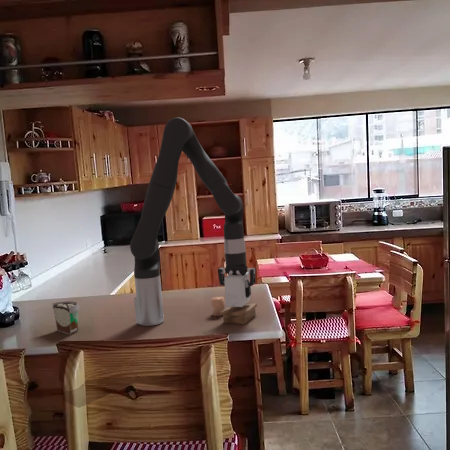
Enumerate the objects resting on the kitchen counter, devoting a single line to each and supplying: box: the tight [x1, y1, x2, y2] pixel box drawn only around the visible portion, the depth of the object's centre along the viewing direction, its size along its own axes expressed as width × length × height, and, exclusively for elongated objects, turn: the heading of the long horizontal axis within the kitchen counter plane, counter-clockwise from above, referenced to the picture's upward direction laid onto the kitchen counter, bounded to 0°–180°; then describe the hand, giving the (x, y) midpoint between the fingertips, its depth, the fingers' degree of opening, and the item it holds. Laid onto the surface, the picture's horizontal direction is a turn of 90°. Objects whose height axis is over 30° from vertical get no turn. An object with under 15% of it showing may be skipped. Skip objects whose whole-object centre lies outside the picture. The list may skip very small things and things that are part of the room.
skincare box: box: [224, 271, 251, 307], centre depth 174 cm, size 10×6×10 cm, turn 161°
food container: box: [52, 300, 80, 336], centre depth 175 cm, size 12×6×10 cm, turn 48°
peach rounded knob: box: [210, 296, 226, 317], centre depth 182 cm, size 5×5×6 cm
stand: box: [221, 302, 258, 325], centre depth 175 cm, size 9×12×4 cm
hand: (238, 296), depth 174 cm, fingers closed on skincare box, 6 cm apart
